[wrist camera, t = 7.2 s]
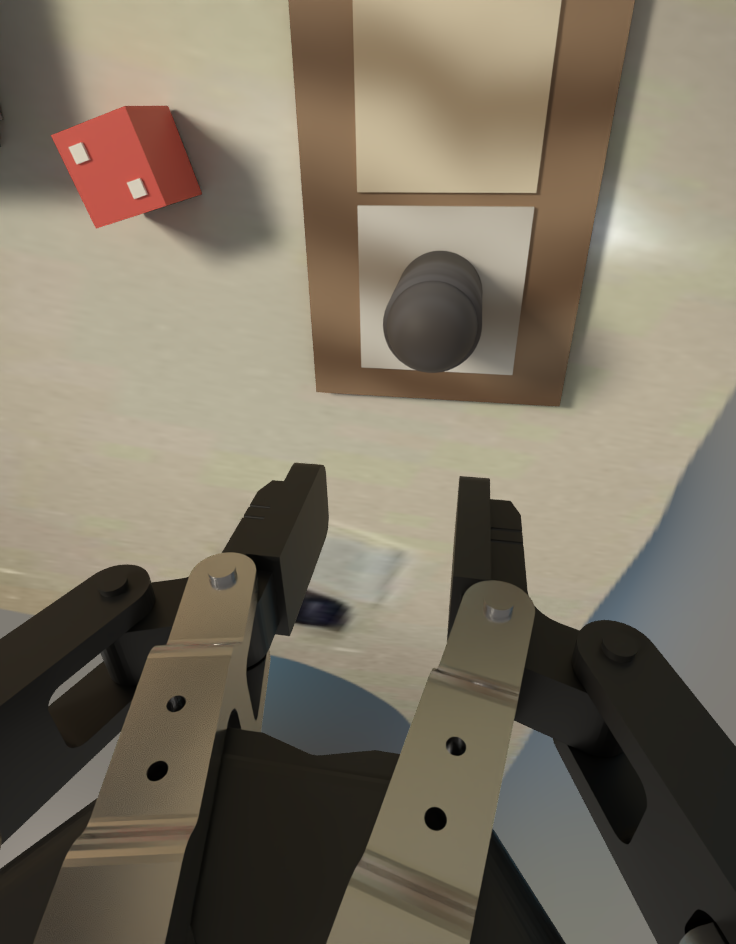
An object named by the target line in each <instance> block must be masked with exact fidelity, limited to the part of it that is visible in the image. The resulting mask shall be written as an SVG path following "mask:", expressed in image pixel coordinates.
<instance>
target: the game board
mask: <svg viewBox="0 0 736 944" xmlns="http://www.w3.org/2000/svg"><path fill="white" fill-rule="evenodd" d="M288 1H289V15H290V29H291V43H292V57H293V71H294V85H295V99H296V113H297V127H298V141H299V155H300V169H301V183H302V196H303V210H304V224H305V238H306V252H307V266H308V280H309V294H310V308H311V322H312V336H313V350H314V364H315V378H316V392H325V393H341V394H358V395H375V396H392V397H409V398H426V399H443V400H459V401H476V402H493V403H510V404H527V405H544V406H560V401H561V396H562V390H563V385H564V379H565V374H566V369H567V363H568V358H569V353H570V347H571V342H572V336H573V331H574V326H575V320H576V315H577V309H578V304H579V299H580V293H581V288H582V283H583V277H584V272H585V266H586V261H587V256H588V250H589V245H590V240H591V234H592V229H593V223H594V218H595V213H596V207H597V202H598V196H599V191H600V186H601V180H602V175H603V170H604V164H605V159H606V153H607V148H608V143H609V137H610V132H611V126H612V121H613V116H614V110H615V105H616V100H617V94H618V89H619V83H620V78H621V73H622V67H623V62H624V57H625V51H626V46H627V40H628V35H629V30H630V24H631V19H632V13H633V8H634V3H635V0H288ZM432 251H449V252H453V253H456V254H459V255H460V256H462V257H464V258H465V259H467V260H468V261H469V262H470V263H471V264H472V265H473V266H474V268H475V269H476V271H477V273H478V274H479V277H480V279H481V283H482V290H483V296H482V332H481V337H480V340H479V342H478V345H477V347H476V348H475V350H474V352H473V353H472V354H471V355H470V357H469V358H468V359H467V360H465V361H464V362H463V363H462V364H460V365H459V366H457V367H455V368H453V369H450V370H448V371H444V372H438V373H427V372H421V371H417V370H414V369H412V368H410V367H408V366H406V365H405V364H403V363H402V362H401V361H399V360H398V359H397V358H396V357H395V356H394V354H393V353H392V352H391V350H390V349H389V347H388V345H387V343H386V340H385V337H384V332H383V317H384V312H385V309H386V306H387V304H388V302H389V300H390V298H391V296H392V294H393V292H394V290H395V288H396V286H397V284H398V282H399V280H400V277H401V275H402V273H403V272H404V270H405V269H406V267H407V266H408V265H409V264H410V263H411V262H412V261H413V260H414V259H416V258H417V257H419V256H421V255H423V254H425V253H428V252H432Z"/></svg>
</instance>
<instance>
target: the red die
mask: <svg viewBox="0 0 736 944" xmlns="http://www.w3.org/2000/svg"><path fill="white" fill-rule="evenodd" d="M51 137H52V139H53V141H54V143H55V145H56V147H57V149H58V151H59V153H60V155H61V157H62V159H63V161H64V163H65V165H66V168H67V170H68V172H69V174H70V176H71V178H72V180H73V182H74V184H75V186H76V188H77V190H78V192H79V194H80V196H81V199H82V201H83V203H84V205H85V207H86V209H87V211H88V213H89V215H90V217H91V219H92V221H93V223H94V225H95V227H96V228H99V227H102V226H105V225H109V224H112V223H115V222H118V221H121V220H124V219H127V218H130V217H134V216H137V215H140V214H143V213H146V212H149V211H152V210H155V209H158V208H161V207H164V206H167V205H170V204H174V203H177V202H180V201H183V200H186V199H189V198H192V197H195V196H198V195H201V194H202V193H201V190H200V187H199V185H198V182H197V180H196V177H195V174H194V172H193V169H192V167H191V164H190V161H189V159H188V156H187V154H186V151H185V149H184V146H183V143H182V141H181V138H180V136H179V133H178V130H177V128H176V125H175V123H174V120H173V117H172V115H171V112H170V110H169V107H168V106H124V107H121V108H119V109H116V110H114V111H111V112H109V113H106V114H104V115H101V116H98V117H96V118H93V119H91V120H88V121H86V122H83V123H81V124H78V125H76V126H73V127H71V128H68V129H66V130H63V131H61V132H58V133H56V134H53V135H51Z"/></svg>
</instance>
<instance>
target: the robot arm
mask: <svg viewBox="0 0 736 944" xmlns="http://www.w3.org/2000/svg"><path fill="white" fill-rule="evenodd" d="M328 520H329V513H328V498H327V483H326V471H325V467H324V465H317V464H305V463H294V464H293V465H292V467H291V469H290V471H289V473H288V475H287V477H286V478H285V480H284V481H275V480H272V481H271V482H270V483H268V484H267V485H266V486H264V487H263V488H262V489H260V490H259V491H258V492H257V494H256V495H255V497H254V499H253V501H252V502H251V504H250V507H248V509H247V511H246V513H245V514H244V518H242V519H241V521H240V523H239V524H238V526H237V528H236V530H235V531H234V533H233V535H232V536H231V538H230V540H229V542H228V543H227V545H226V547H225V548H224V550H223V552H222V553H220V554H216V555H213V556H210V557H208V558H206V559H204V560H202V561H201V562H200V563H198V564H197V565H196V566H195V567H194V568H193V570H192V571H191V573H190V575H189V577H187V578H182V579H175V580H168V581H160V582H152V583H151V580H150V577H149V574H148V573H147V571H146V570H145V569H143V568H141V567H139V566H135V565H117V566H113V567H109V568H107V569H104V570H102V571H100V572H98V573H96V574H94V575H93V576H91V577H90V578H88V579H87V580H86V581H84V582H83V583H81V584H80V585H78V586H77V587H75V588H74V589H72V590H71V591H70V592H68V593H67V594H65V595H64V596H62V597H61V598H59V599H58V600H56V601H55V602H54V603H52V604H51V605H49V606H48V607H46V608H45V609H43V610H42V611H40V612H39V613H38V614H36V615H35V616H33V617H32V618H30V619H29V620H27V621H26V622H25V623H23V624H22V625H20V626H19V627H17V628H16V629H14V630H13V631H11V632H10V633H8V634H7V635H6V636H4V637H3V638H1V639H0V848H1V845H2V844H3V843H4V842H5V841H6V840H7V839H8V838H9V837H10V836H11V835H12V834H13V833H14V832H16V831H17V830H18V829H19V828H20V827H21V826H22V825H23V824H24V823H25V822H26V821H27V820H28V819H29V818H30V817H31V816H32V815H33V814H34V813H35V812H37V811H38V810H39V809H40V808H41V807H42V806H43V805H44V804H45V803H46V802H47V801H48V800H49V799H50V798H51V797H52V796H53V795H54V794H55V793H57V792H58V791H59V790H60V789H61V788H62V787H63V786H64V785H65V784H66V783H67V782H68V781H69V780H70V779H71V778H72V777H73V776H74V775H75V774H76V773H77V772H79V771H80V770H81V769H82V768H83V767H84V766H85V765H86V764H87V763H88V762H89V761H90V760H91V759H92V758H93V757H94V756H95V755H96V754H98V753H99V752H100V751H101V750H102V749H103V748H104V747H105V746H106V745H107V744H108V743H109V742H110V741H111V740H112V739H113V738H114V737H115V736H116V735H117V734H119V732H121V733H120V736H119V739H118V742H117V745H116V747H115V750H114V753H113V756H112V759H111V761H110V764H109V767H108V770H107V773H106V776H105V778H104V781H103V784H102V787H101V790H100V792H99V795H98V798H97V799H95V800H94V801H93V802H91V803H90V804H89V805H87V806H86V807H85V808H83V809H82V810H80V811H79V812H78V813H76V814H75V815H73V816H72V817H71V818H69V819H68V820H67V821H65V822H64V823H63V824H61V825H60V826H59V827H57V828H56V829H54V830H53V831H52V832H50V833H49V834H47V835H46V836H45V837H43V838H42V839H41V840H39V841H38V842H36V843H35V844H34V845H33V846H31V847H30V848H28V849H27V850H25V851H24V852H23V853H21V854H20V855H19V856H17V857H16V858H15V859H13V860H12V861H10V862H9V863H8V864H6V865H5V866H4V867H2V868H1V869H0V944H566V943H565V942H564V940H563V939H562V937H561V935H560V934H559V932H558V931H557V929H556V927H555V926H554V924H553V923H552V921H551V920H550V918H549V917H548V915H547V913H546V912H545V910H544V909H543V907H542V905H541V904H540V903H539V901H538V899H537V898H536V896H535V894H534V893H533V891H532V890H531V888H530V886H529V885H528V883H527V882H526V880H525V879H524V877H523V875H522V874H521V872H520V871H519V869H518V868H517V866H516V864H515V863H514V861H513V860H512V858H511V857H510V855H509V853H508V852H507V850H506V849H505V847H504V846H503V844H502V843H501V841H500V839H499V838H498V836H497V834H496V833H495V831H494V830H493V823H494V817H495V812H496V808H497V802H498V798H499V793H500V788H501V783H502V778H503V773H504V768H505V763H506V758H507V753H508V748H509V743H510V738H511V733H512V728H513V723H514V721H517V722H519V723H521V724H523V725H525V726H528V727H530V728H532V729H534V730H536V731H538V732H541V733H543V734H545V735H548V736H550V737H552V738H553V741H554V744H555V746H556V748H557V750H558V752H559V754H560V756H561V758H562V760H563V762H564V764H565V766H566V768H567V770H568V772H569V773H570V775H571V777H572V779H573V781H574V783H575V785H576V787H577V789H578V791H579V793H580V795H581V796H582V799H583V800H584V802H585V804H586V806H587V808H588V810H589V812H590V813H591V816H592V818H593V820H594V822H595V824H596V825H597V827H598V829H599V831H600V833H601V835H602V837H603V839H604V841H605V843H606V845H607V847H608V849H609V851H610V852H611V854H612V856H613V858H614V860H615V862H616V864H617V866H618V868H619V870H620V872H621V874H622V875H623V877H624V879H625V881H626V883H627V885H628V887H629V889H630V891H631V893H632V895H633V897H634V898H635V901H636V902H637V905H638V906H639V908H640V910H641V912H642V914H643V916H644V918H645V920H646V922H647V924H648V926H649V928H650V930H651V931H652V933H653V935H654V937H655V939H656V941H657V943H658V944H736V746H735V745H734V744H733V743H732V741H731V740H730V739H729V738H728V736H727V735H726V734H725V733H724V731H723V730H722V729H721V728H720V726H719V725H718V724H717V723H716V721H715V720H714V719H713V718H712V716H711V715H710V714H709V713H708V711H707V710H706V709H705V708H704V707H703V705H702V704H701V703H700V702H699V700H698V699H697V698H696V697H695V695H694V694H693V693H692V691H691V690H690V689H689V688H688V686H687V685H686V684H685V683H684V682H683V680H682V679H681V678H680V677H679V675H678V674H677V673H676V672H675V670H674V669H673V668H672V667H671V665H670V664H669V663H668V662H667V660H666V659H665V658H664V657H663V655H662V654H661V653H660V652H659V650H658V649H657V648H656V647H655V645H654V644H653V643H652V642H651V641H650V640H649V639H648V638H647V637H646V636H645V635H644V634H643V633H641V632H639V631H638V630H637V629H635V628H633V627H631V626H629V625H626V624H624V623H620V622H616V621H610V620H601V621H594V622H591V623H589V624H587V625H585V626H584V627H583V628H582V629H581V630H580V631H579V630H577V629H574V628H571V627H568V626H566V625H563V624H560V623H558V622H556V621H554V620H552V619H550V618H548V617H547V616H545V615H544V614H542V613H541V612H540V611H539V610H538V609H537V608H536V607H535V606H534V604H533V601H532V600H531V598H530V597H529V595H528V591H527V581H526V570H525V558H524V547H523V536H522V524H521V515H520V513H519V512H518V511H517V509H516V508H515V506H514V505H513V504H512V502H511V501H505V500H493V499H490V479H489V478H476V477H464V476H460V478H459V489H458V501H457V512H456V524H455V536H454V548H453V563H452V577H451V591H450V605H449V620H448V634H447V644H446V647H445V650H444V653H443V655H442V658H441V661H440V664H439V666H438V668H437V669H436V668H433V669H432V671H431V673H430V675H429V677H428V680H427V682H426V685H425V688H424V690H423V693H422V696H421V699H420V701H419V704H418V707H417V710H416V712H415V715H414V718H413V721H412V723H411V726H410V729H409V732H408V735H407V738H406V740H405V743H404V746H403V748H402V751H401V754H395V753H389V752H382V751H376V750H374V751H362V752H352V753H341V754H331V755H318V756H316V755H311V754H308V753H306V752H304V751H301V750H300V749H297V748H295V747H293V746H291V745H289V744H286V743H284V742H282V741H280V740H278V739H275V738H273V737H271V736H269V735H267V734H264V733H261V727H262V719H263V711H264V704H265V696H266V689H267V681H268V673H269V666H270V651H269V648H270V645H271V643H272V640H273V638H274V635H275V634H278V635H285V636H290V634H291V632H292V629H293V626H294V623H295V621H296V618H297V615H298V613H299V610H300V607H301V604H302V602H303V599H304V596H305V593H306V591H307V588H308V585H309V583H310V580H311V577H312V574H313V572H314V569H315V566H316V563H317V561H318V558H319V555H320V553H321V550H322V547H323V544H324V542H325V539H326V535H327V530H328ZM100 653H101V655H102V658H103V660H104V661H103V662H102V663H101V664H99V665H98V666H97V667H96V668H95V669H93V670H92V671H91V672H90V673H88V674H87V675H86V676H85V677H84V678H82V679H81V680H80V681H79V682H78V683H76V684H75V685H74V686H73V687H71V688H70V689H69V690H68V691H67V692H65V694H63V695H62V696H61V697H59V698H58V699H57V700H56V701H55V702H53V703H52V704H51V705H50V706H48V704H49V700H50V698H51V696H52V695H53V693H54V692H55V690H56V689H57V688H58V687H59V686H60V685H61V684H63V683H64V682H65V681H66V680H68V679H69V678H70V677H71V676H72V675H74V674H75V673H76V672H77V671H79V670H80V669H81V668H82V667H84V666H85V665H86V664H87V663H89V662H90V661H91V660H92V659H93V658H95V657H96V656H97V655H98V654H100Z"/></svg>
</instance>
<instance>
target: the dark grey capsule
mask: <svg viewBox="0 0 736 944" xmlns="http://www.w3.org/2000/svg"><path fill="white" fill-rule="evenodd" d="M482 296H483V290H482V283H481V279H480V277H479V274H478V273H477V271H476V269H475V268H474V266H473V265H472V264H471V263H470V262H469V261H468V260H467V259H465V258H464V257H462V256H460V255H459V254H456V253H453V252H449V251H432V252H428V253H425V254H423V255H421V256H419V257H417V258H416V259H414V260H413V261H412V262H411V263H410V264H409V265H408V266H407V267H406V269H405V270H404V272H403V273H402V275H401V277H400V280H399V282H398V284H397V286H396V288H395V290H394V292H393V294H392V296H391V298H390V300H389V302H388V304H387V306H386V309H385V312H384V317H383V332H384V337H385V340H386V343H387V345H388V347H389V349H390V350H391V352H392V353H393V354H394V356H395V357H396V358H397V359H398V360H399V361H401V362H402V363H403V364H405V365H406V366H408V367H410V368H412V369H414V370H417V371H421V372H427V373H438V372H444V371H448V370H450V369H453V368H455V367H457V366H459V365H460V364H462V363H463V362H464V361H465V360H467V359H468V358H469V357H470V355H471V354H472V353H473V352H474V350H475V348H476V347H477V345H478V342H479V340H480V337H481V332H482Z"/></svg>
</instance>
